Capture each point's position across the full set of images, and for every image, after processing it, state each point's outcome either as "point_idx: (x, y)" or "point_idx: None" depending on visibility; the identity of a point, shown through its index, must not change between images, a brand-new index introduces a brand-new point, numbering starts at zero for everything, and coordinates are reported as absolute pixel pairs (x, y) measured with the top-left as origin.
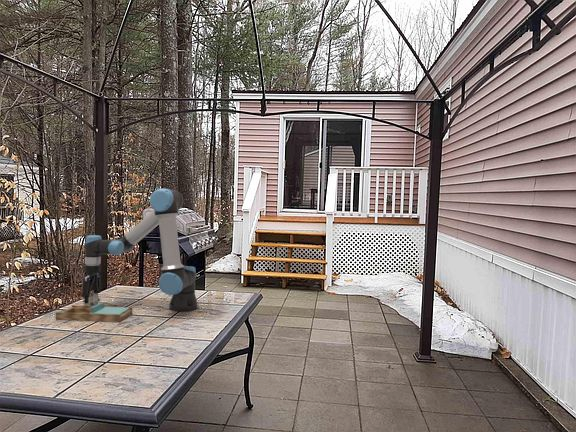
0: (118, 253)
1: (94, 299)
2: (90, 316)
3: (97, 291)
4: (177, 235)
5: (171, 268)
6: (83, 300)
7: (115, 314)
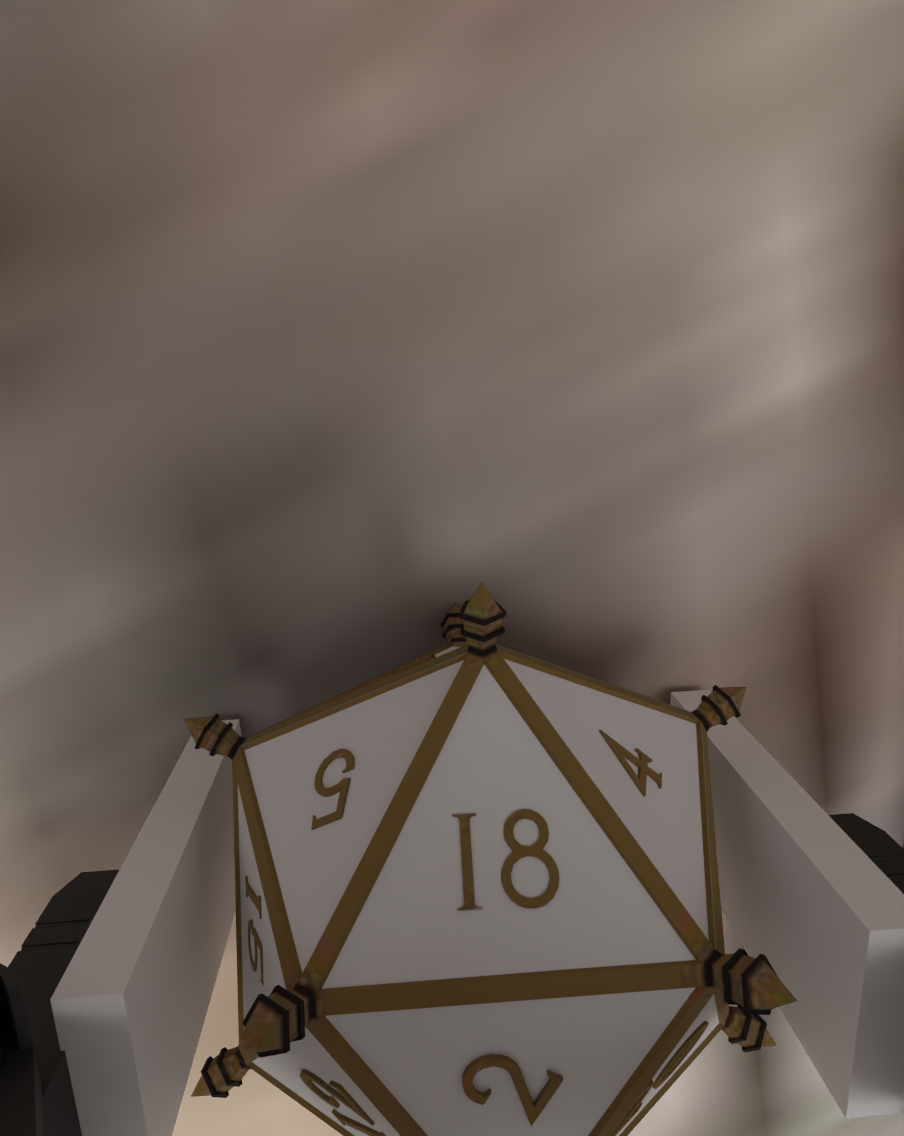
0: None
1: (645, 759)
2: None
3: (40, 1118)
4: None
5: None
6: (750, 1030)
7: None
